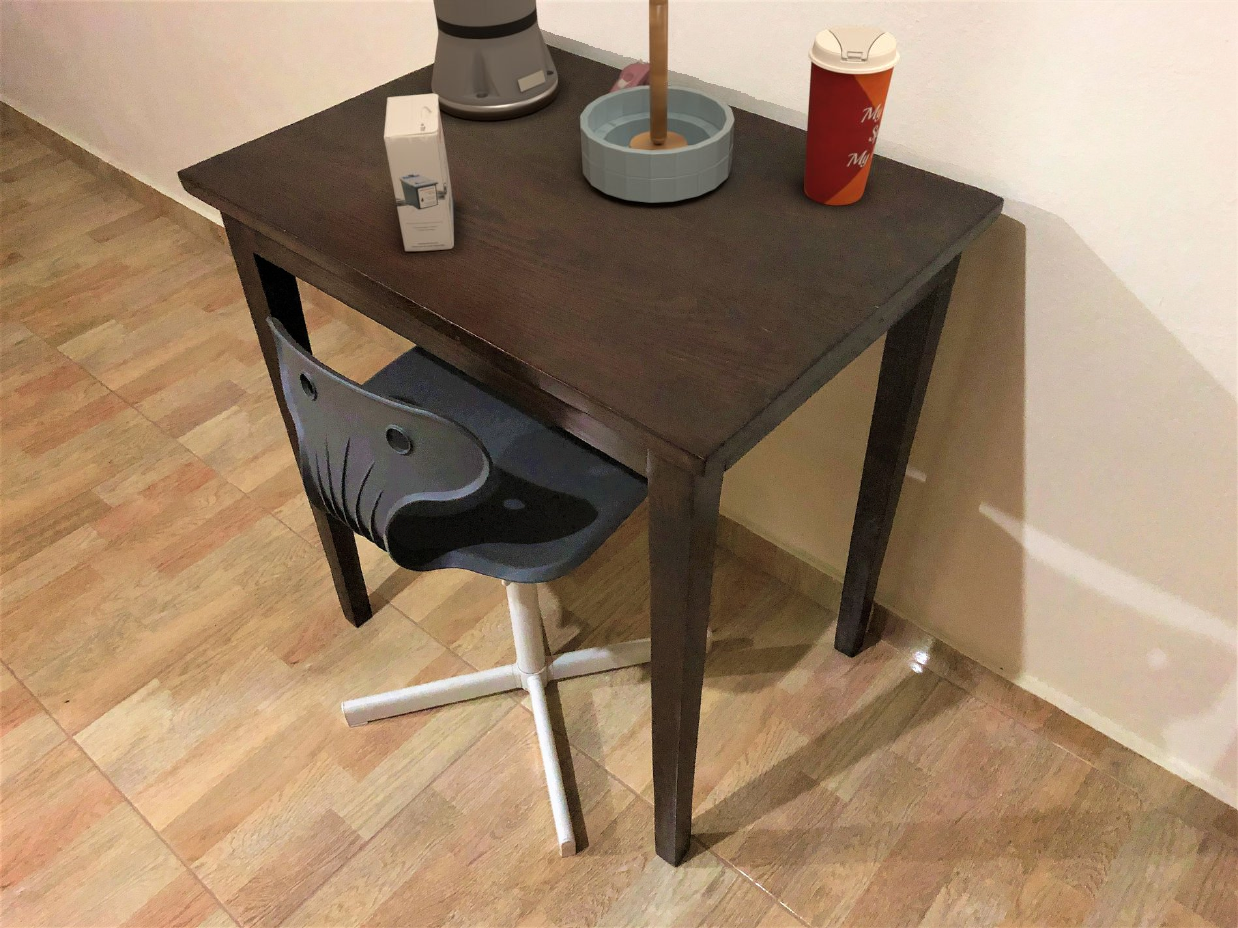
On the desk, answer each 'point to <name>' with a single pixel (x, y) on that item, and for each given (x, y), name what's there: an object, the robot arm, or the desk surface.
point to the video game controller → (633, 76)
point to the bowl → (656, 170)
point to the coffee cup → (845, 109)
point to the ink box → (419, 172)
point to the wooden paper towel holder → (658, 84)
